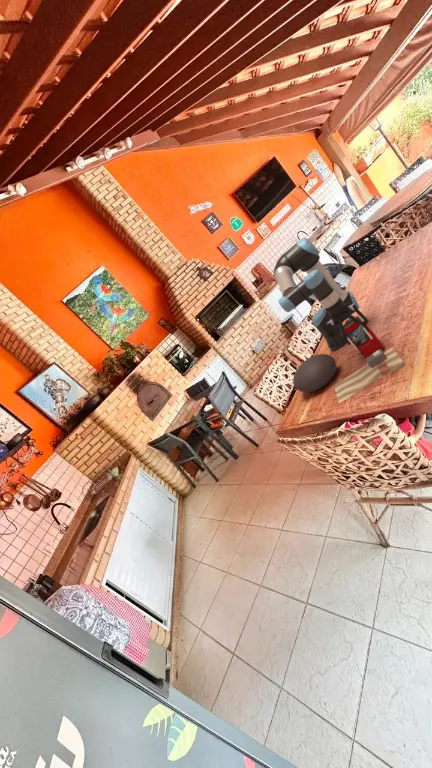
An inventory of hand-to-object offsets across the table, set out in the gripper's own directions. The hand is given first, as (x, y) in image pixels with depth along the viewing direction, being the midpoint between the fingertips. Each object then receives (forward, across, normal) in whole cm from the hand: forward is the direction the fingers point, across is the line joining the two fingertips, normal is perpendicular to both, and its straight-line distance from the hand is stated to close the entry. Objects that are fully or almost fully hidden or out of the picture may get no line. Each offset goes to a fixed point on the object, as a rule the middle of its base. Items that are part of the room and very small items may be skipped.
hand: (363, 343), depth 166 cm
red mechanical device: (+17, 0, +25) cm, 30 cm away
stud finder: (+15, 0, +9) cm, 18 cm away
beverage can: (+1, 0, 0) cm, 1 cm away
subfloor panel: (+17, -8, +4) cm, 19 cm away
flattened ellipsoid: (+17, -30, +26) cm, 43 cm away
